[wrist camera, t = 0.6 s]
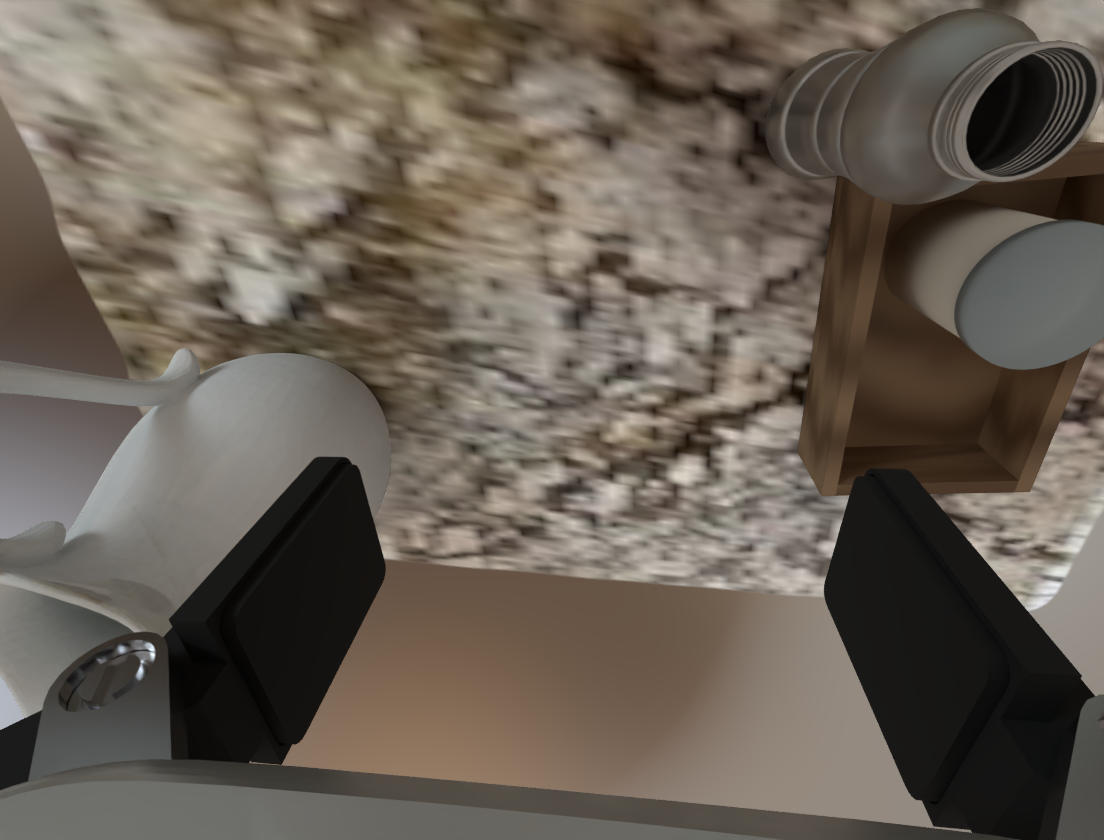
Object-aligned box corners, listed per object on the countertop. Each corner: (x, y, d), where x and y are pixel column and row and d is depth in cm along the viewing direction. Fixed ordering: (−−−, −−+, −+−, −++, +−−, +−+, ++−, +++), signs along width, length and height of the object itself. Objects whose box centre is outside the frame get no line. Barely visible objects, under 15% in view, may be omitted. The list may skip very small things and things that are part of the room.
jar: (893, 201, 34) (991, 231, 25) (1022, 190, 33) (1171, 216, 24) (871, 313, 37) (950, 373, 29) (986, 305, 36) (1105, 365, 28)
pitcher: (445, 471, 50) (286, 801, 26) (297, 502, 54) (39, 814, 30) (319, 213, 39) (-154, 367, 15) (145, 277, 43) (-448, 478, 19)
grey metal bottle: (734, 130, 34) (858, 144, 16) (822, 25, 31) (1089, -95, 13) (803, 197, 35) (983, 274, 18) (893, 103, 32) (1217, 85, 15)
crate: (838, 166, 34) (878, 175, 29) (1084, 141, 32) (1174, 146, 27) (797, 452, 45) (821, 495, 40) (979, 446, 43) (1029, 491, 38)
